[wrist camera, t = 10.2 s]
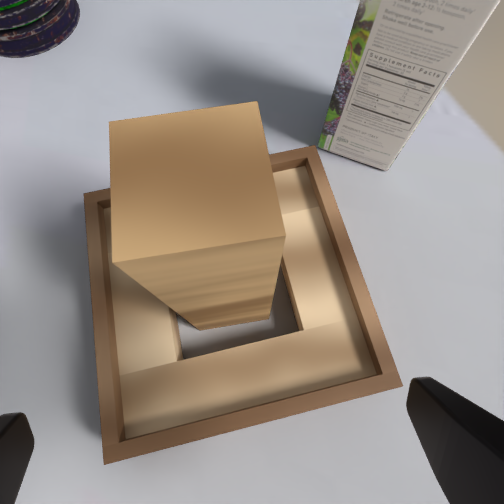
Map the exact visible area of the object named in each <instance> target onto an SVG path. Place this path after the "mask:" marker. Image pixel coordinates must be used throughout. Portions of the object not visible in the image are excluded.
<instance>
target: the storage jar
mask: <svg viewBox="0 0 504 504" xmlns="http://www.w3.org/2000/svg"><path fill="white" fill-rule="evenodd" d="M79 17H80V9H79V5H78V3H77V1H76V0H0V56H3V57H11V58H21V57H29V56H33V55H37V54H41V53H43V52H46V51H48V50H50V49H52V48H54V47H56V46H57V45H59V44H60V43H62V42H63V41H64V40H65V39H67V38H68V37H69V36H70V34H71V33H72V32H73V31H74V29H75V28H76V26H77V24H78V21H79Z"/></svg>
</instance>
